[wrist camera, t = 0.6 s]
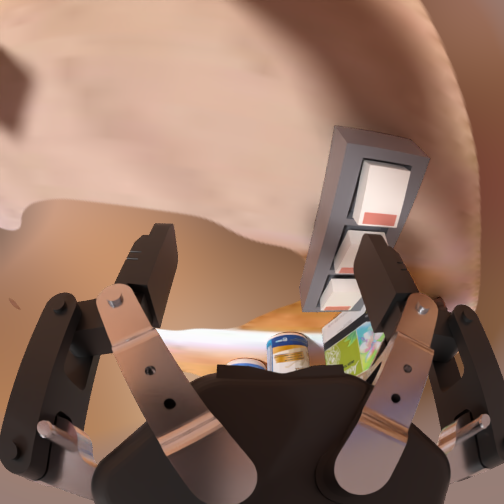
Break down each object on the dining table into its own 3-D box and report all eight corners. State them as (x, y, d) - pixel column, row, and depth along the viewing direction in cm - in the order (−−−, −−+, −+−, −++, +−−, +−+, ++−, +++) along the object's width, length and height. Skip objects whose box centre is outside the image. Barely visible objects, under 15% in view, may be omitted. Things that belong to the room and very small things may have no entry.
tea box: (371, 281, 42) (394, 367, 32) (408, 294, 45) (432, 369, 34) (319, 328, 52) (327, 401, 41) (357, 335, 55) (369, 401, 44)
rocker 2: (348, 230, 29) (351, 244, 28) (384, 232, 29) (388, 246, 28) (333, 260, 34) (335, 273, 33) (365, 261, 34) (368, 274, 33)
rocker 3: (331, 278, 34) (333, 292, 33) (363, 278, 34) (365, 292, 33) (319, 298, 39) (320, 310, 38) (348, 298, 39) (350, 310, 38)
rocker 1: (363, 159, 24) (370, 165, 23) (402, 165, 24) (410, 171, 23) (352, 216, 27) (358, 225, 26) (389, 219, 27) (396, 228, 26)
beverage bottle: (257, 342, 56) (256, 438, 41) (286, 326, 51) (292, 432, 37) (286, 353, 59) (290, 441, 45) (316, 338, 55) (325, 434, 40)
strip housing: (334, 125, 25) (347, 142, 22) (410, 139, 25) (430, 158, 22) (299, 287, 43) (302, 311, 40) (354, 287, 43) (360, 311, 40)
